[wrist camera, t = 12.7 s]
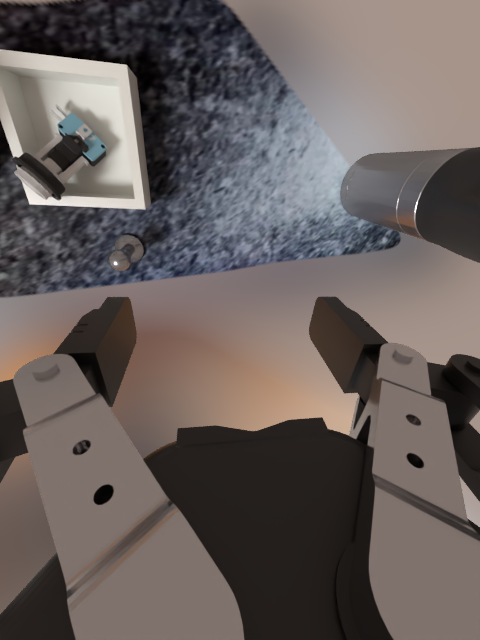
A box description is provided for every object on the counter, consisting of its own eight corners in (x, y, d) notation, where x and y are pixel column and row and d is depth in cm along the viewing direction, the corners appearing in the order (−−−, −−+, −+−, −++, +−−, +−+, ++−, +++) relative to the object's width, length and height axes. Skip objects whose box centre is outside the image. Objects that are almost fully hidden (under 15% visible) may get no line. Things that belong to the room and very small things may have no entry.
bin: (136, 77, 31) (126, 64, 27) (151, 204, 38) (145, 209, 34) (6, 62, 29) (-26, 46, 25) (48, 199, 36) (29, 204, 32)
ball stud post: (142, 234, 41) (130, 248, 34) (145, 261, 43) (135, 278, 36) (113, 233, 40) (96, 247, 33) (118, 260, 42) (103, 278, 36)
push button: (62, 116, 32) (2, 167, 30) (55, 86, 27) (-17, 143, 25) (109, 161, 35) (56, 211, 33) (109, 141, 30) (49, 197, 28)
